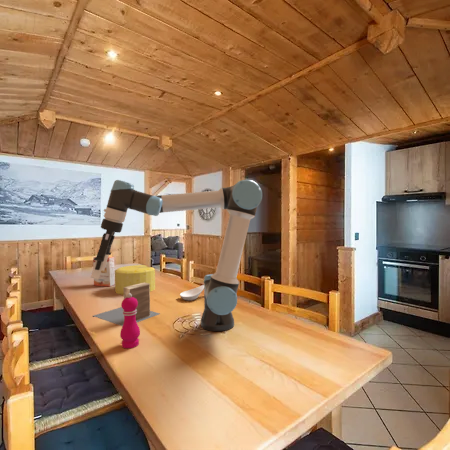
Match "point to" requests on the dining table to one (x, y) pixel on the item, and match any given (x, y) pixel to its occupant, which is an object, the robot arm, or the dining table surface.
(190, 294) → the spoon rest
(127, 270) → the cheese
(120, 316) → the mat
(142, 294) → the brown wooden block
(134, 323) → the pepper mill
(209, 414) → the dining table surface
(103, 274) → the cracker box
